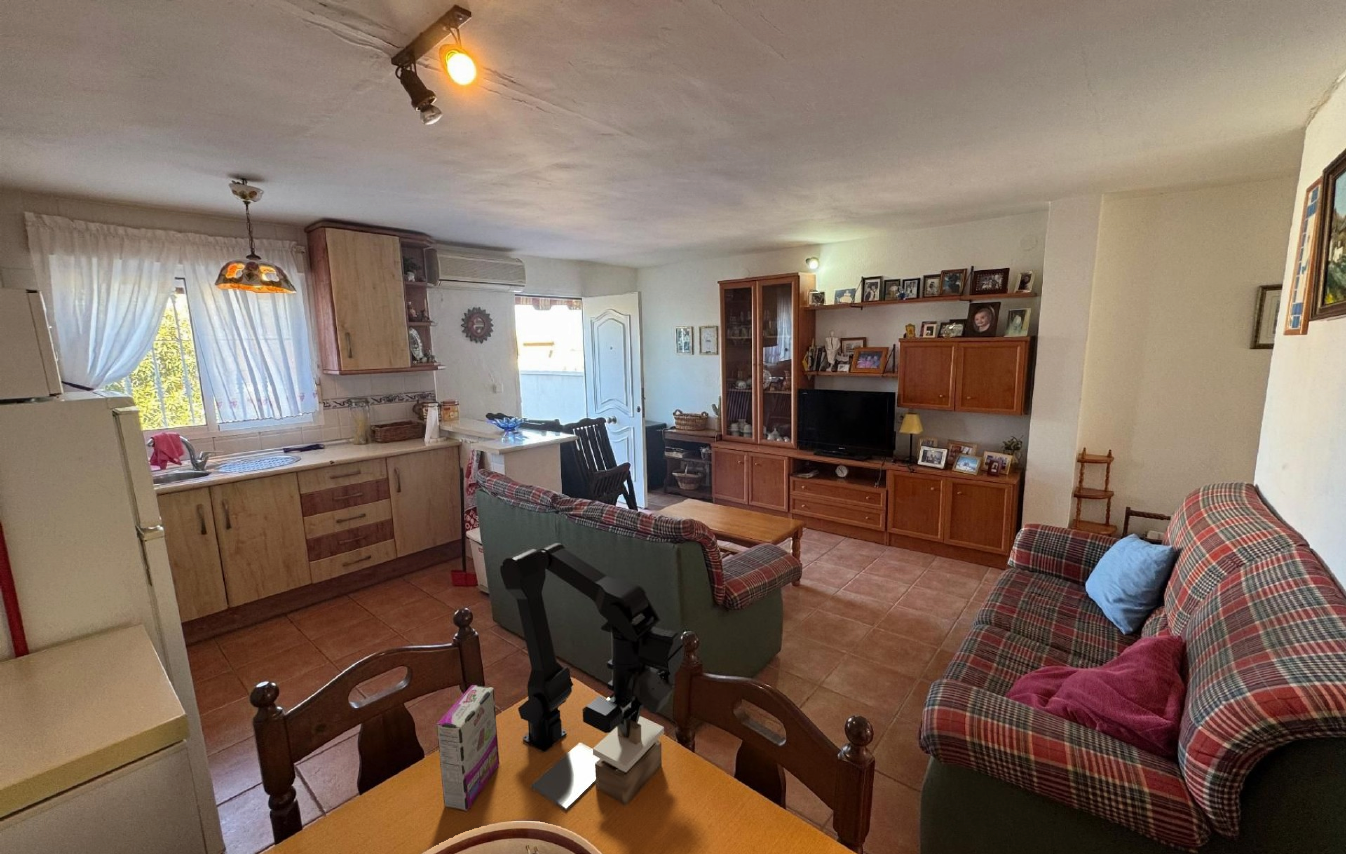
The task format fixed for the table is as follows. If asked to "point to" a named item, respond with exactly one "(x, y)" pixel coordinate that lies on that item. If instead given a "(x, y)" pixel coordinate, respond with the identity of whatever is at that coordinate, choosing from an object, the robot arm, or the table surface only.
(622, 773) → the box
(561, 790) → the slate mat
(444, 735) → the candy bar box
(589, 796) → the table surface
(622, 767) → the lid
